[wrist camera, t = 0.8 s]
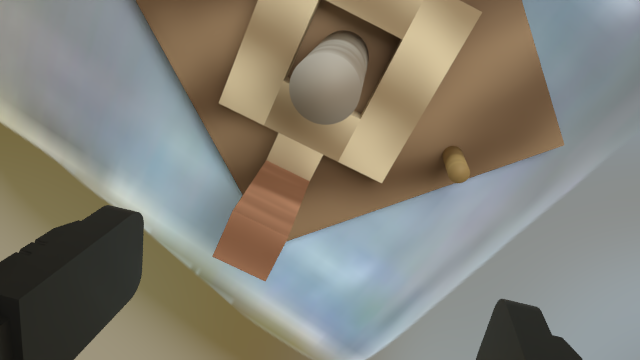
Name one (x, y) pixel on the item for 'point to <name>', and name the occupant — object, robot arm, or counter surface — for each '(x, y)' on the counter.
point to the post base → (354, 93)
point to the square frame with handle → (335, 139)
